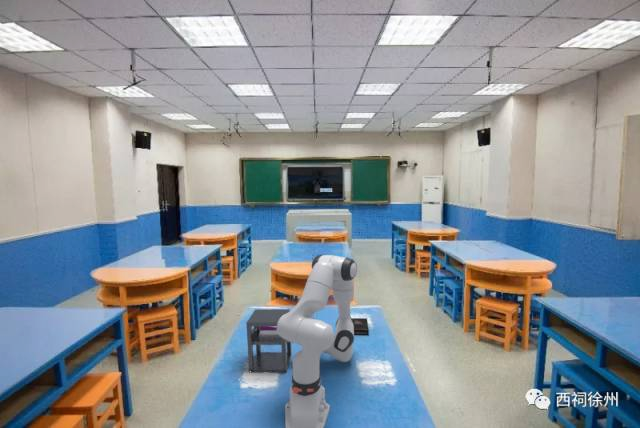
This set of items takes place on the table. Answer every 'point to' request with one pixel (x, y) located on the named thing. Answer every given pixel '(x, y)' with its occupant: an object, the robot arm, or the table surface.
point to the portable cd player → (360, 326)
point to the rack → (267, 343)
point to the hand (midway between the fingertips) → (299, 328)
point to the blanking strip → (268, 334)
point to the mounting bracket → (268, 328)
